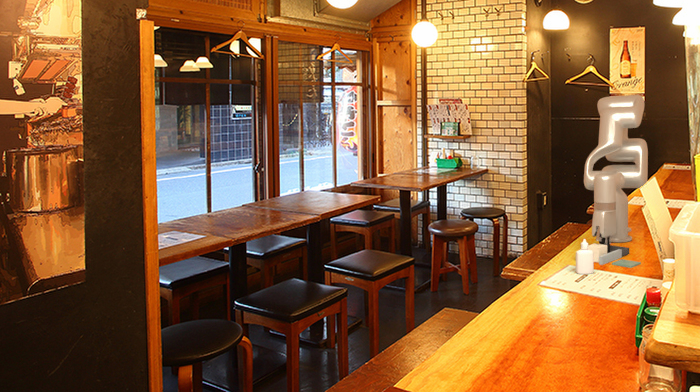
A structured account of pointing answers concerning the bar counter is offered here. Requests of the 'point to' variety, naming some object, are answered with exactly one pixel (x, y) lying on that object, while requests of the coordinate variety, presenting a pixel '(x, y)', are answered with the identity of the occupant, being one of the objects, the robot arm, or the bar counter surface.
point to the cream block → (597, 250)
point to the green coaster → (626, 263)
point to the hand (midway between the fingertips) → (604, 254)
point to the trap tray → (624, 249)
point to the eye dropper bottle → (584, 259)
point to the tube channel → (610, 257)
